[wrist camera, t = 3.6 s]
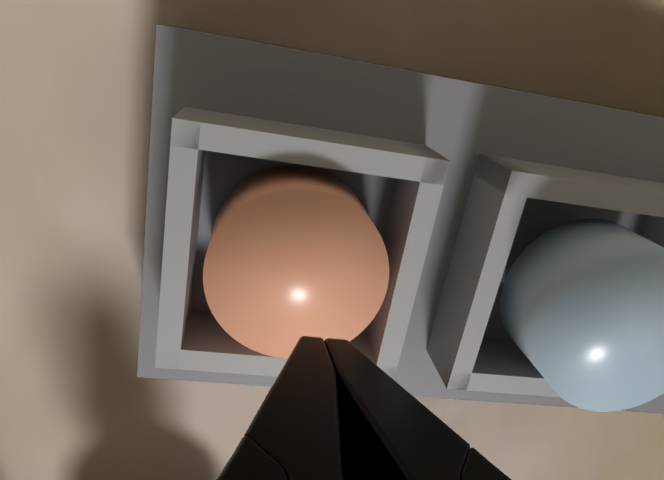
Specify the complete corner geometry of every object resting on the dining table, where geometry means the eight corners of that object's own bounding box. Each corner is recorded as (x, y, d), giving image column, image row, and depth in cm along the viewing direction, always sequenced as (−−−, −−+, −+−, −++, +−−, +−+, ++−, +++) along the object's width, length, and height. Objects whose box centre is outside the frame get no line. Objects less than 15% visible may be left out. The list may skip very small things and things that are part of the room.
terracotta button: (384, 177, 14) (407, 202, 12) (354, 318, 16) (369, 364, 13) (220, 153, 13) (212, 176, 11) (205, 304, 15) (195, 351, 13)
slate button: (672, 229, 14) (747, 264, 12) (615, 363, 16) (673, 416, 14) (527, 208, 14) (578, 241, 11) (481, 351, 15) (519, 406, 13)
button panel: (840, 150, 19) (1023, 185, 15) (725, 375, 23) (844, 461, 18) (176, 26, 15) (136, 21, 10) (155, 326, 18) (119, 422, 14)
